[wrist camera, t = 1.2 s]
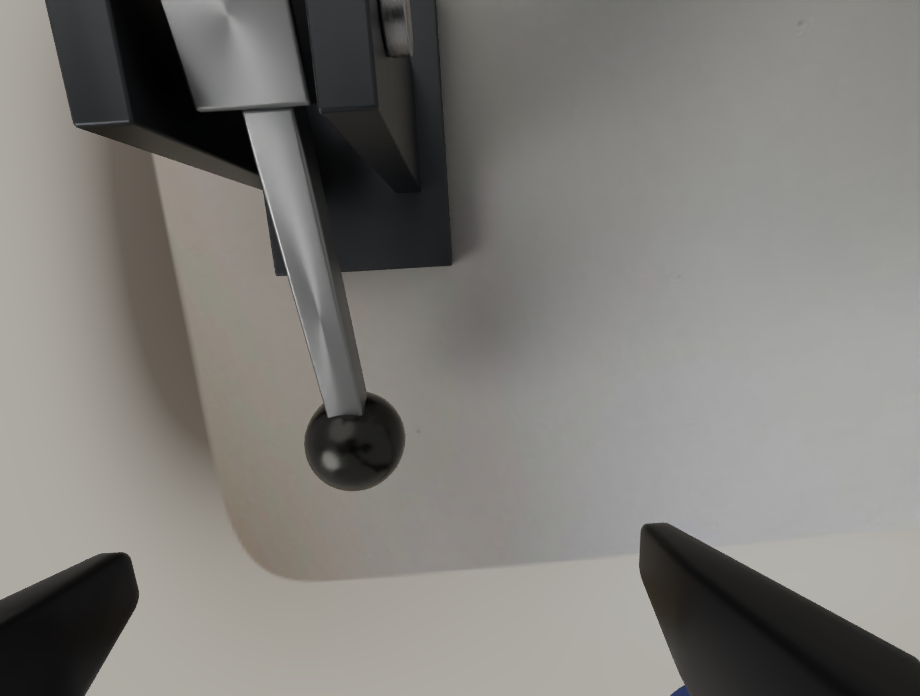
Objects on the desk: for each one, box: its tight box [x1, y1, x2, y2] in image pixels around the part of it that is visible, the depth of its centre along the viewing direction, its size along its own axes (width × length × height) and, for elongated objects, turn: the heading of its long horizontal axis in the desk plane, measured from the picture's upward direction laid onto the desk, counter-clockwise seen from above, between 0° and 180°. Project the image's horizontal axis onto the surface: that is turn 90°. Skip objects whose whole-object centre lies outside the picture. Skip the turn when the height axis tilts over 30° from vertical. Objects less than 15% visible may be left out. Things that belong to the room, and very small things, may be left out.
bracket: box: [45, 0, 452, 276], centre depth 12 cm, size 10×7×11 cm
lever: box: [159, 0, 405, 491], centre depth 11 cm, size 14×3×3 cm, turn 4°
